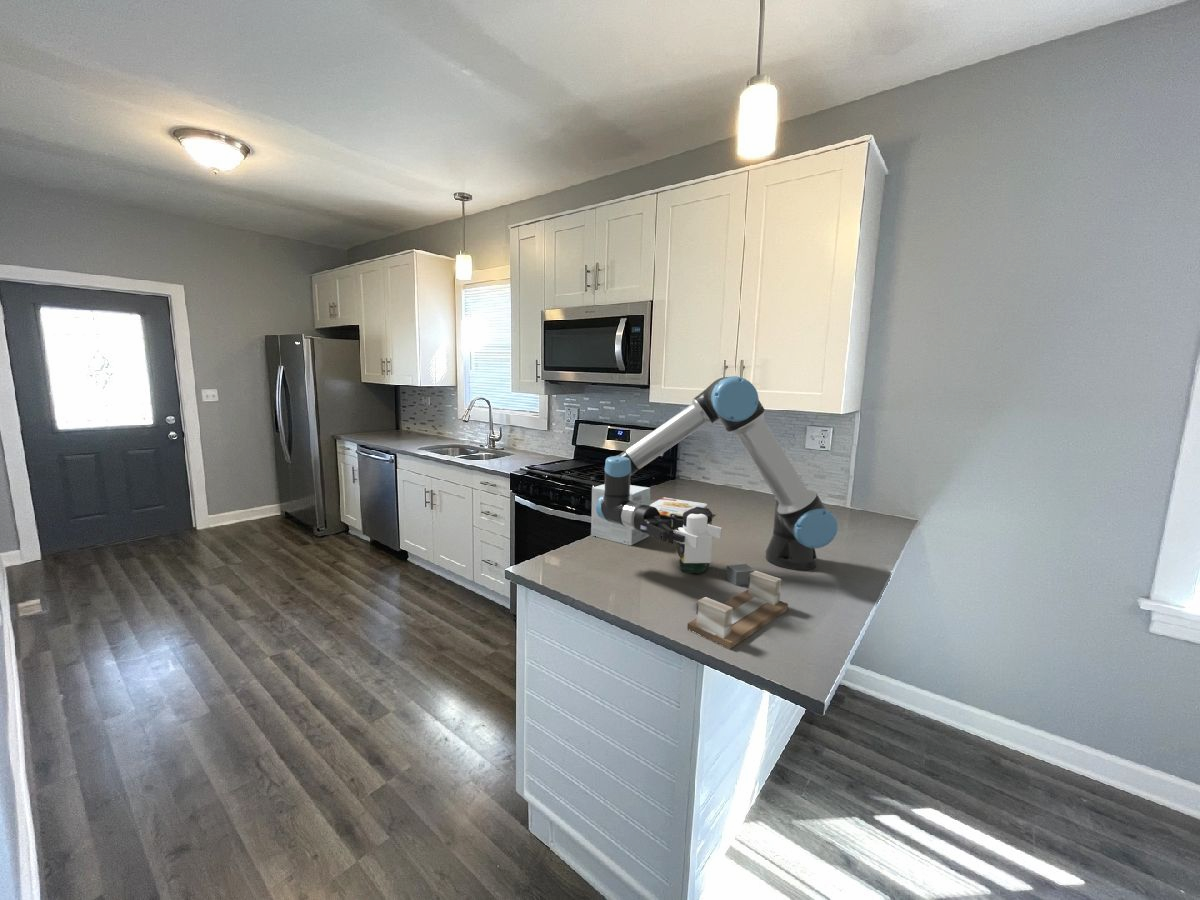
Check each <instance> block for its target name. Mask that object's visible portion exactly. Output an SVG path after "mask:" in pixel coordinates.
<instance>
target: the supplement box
mask: <svg viewBox="0 0 1200 900" xmlns="http://www.w3.org/2000/svg"><path fill="white" fill-rule="evenodd" d="M604 492H605V483H604V484H600V485H597V486H593V487H592V488H591V518H590V519H591V522H590V523H591V524H590V525H591V526H590V536H591V537H595V536H596V538H600V539H603V540H607V541H611V542H616V543H619V544H624V545H628V546H633V545H634V544H635V545H636V544H637V543H638V542H641V541H643V540H645V539H646V538H649V537H650V535H649V534H647V533H644V532H641V531H638V530H632V529H631V528H629V527H626V526H623V525H620V524H616V523H613V522H609V521H607V520H605V519H602V518H600V517H599V516H598V514H597V512H596V504H597V503H598V499H599V498H600V497H601V496H602V495H604ZM629 500H630V501H634V502H638V503H642V504H644V505H648V506H650V504H651V487H647V486H640V485H634V484H633V485H632V484H630V498H629Z"/></svg>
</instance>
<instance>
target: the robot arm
mask: <svg viewBox="0 0 1200 900" xmlns="http://www.w3.org/2000/svg"><path fill="white" fill-rule="evenodd" d="M691 402H692V403H691V404H690V405H688V406H687V407H684V408H683V409H682V410H681V411H679V412H678V413H676V415H675V414H674V416H673V417H671V418H669V419H668V420H667V421H665V422H664V423H662V424H661V425H660V426H658V427H657V428H655V429H654V430H652V431H651V432H649V433H648V434H647V435H645V436H644V437H643V438H641V439H640V440H638V441H637V442H635V443H633V444H632V445H631V446H629V447H628V448H627V449H625V450H624V451H622V452H621V453H619V454H617V455H615V456H614V455H613V456H612V455H611V456H609V457H607V458H606V459H605V464H604V484H605V492H604V495H602V496H601V497H600V498H599V499H598V503H597V504H596V512H597V514H598V516H599V517H600V518H602V519H605V520H607V521H609V522H613V523H616V524H620V525H623V526H626V527H629V528H631V529H632V530H638V531H641V532H644V533H647V534H649V536H650V537H651V536H652V537H653V538H655V539H657V540H659V541H661V542H665V543H666V542H667V541H668V543H667V544H669V545H672V544H674V542H676V543H677V542H679V543H682V544H685V545H688V546H691V547H695V548H697V547H698V536H695V535H692V534H688V533H685V532H682V531H678V530H676V529H678V528H679V527H683V518H684V516H680V515H676V514H673V513H672V514H670V516H667V515H663V514H661V515H660V513H659V511H658V510H657V509H656V508H655V507H652V506H648V505H644V504H642V503H638V502H634V501H630V500H629V498H630V485H631V476H633V475H634V474H636V473H637V472H639V470H641V469H642V468H644V466H647V465H648V464H649V463H651V462H653V461H654V460H655V459H656V458H658V457H659V456H661V455H662V454H664V453H665V452H667V451H668V450H670V449H671V448H673V447H674V446H675V445H677V444H678V443H681V442H682V440H684V439H686V438H688V437H689V436H690V435H692V434H693V433H694V432H697V430H699V429H700V428H702V427H704V426H705V425H708V424H709V425H712V424H713V423H715V422H717V421H718V420H720V422H721V424H722V425H723V427H724V428H725V430H726V431H727V433H729V434H734V435H736V437H737V438H738V440H739V442H740V443H741V445H742V446H743V448H744V450H745V452H746V453H747V454H748V456H749V457H750V459H751V461H752V462H753V464H754V465H755V468H756V469H757V470H758V472H759V473H760V475H761V477H762V479H763V480H764V482H765V483H766V485H767V486H768V488H769V489H770V491H771V493H772V495H773V496H774V497H775V498H774V501H775V505H774V515H773V530H772V536H771V539H770V540H769V543H768V545H767V547H766V550H765V559H766V560H767V561H768V563H770V564H773V565H775V566H778V567H781V568H786V569H792V570H809V569H813V568H815V567H816V566H817V561H818V559H817V558H818V557H817V554H816V550H815V549H820V548H823V547H826V546H827V545H829V544H830V543H832V542H833V540H835V538H836V535H837V533H838V530H839V529H838V528H839V526H838V521H837V518H836V517H835V515H834V514H833V513H832V511H829V510H828V509H827V508H826V507H825V505H824V503H823V502H822V500H821V498H820V496H819V495H818V493H817V492H816V491H815V490H813V489H808V488H807V487H806V485H805V483H804V482H803V480H802V478H801V477H800V475H799V474H798V472H797V471H796V469H795V467H794V466H793V463H791V460H790V459H789V457H788V456H787V454H786V452H785V451H784V449H783V448H782V446H781V444H780V443H779V441H778V439H777V438H776V436H775V434H774V433H773V431H772V430H771V428H770V427H769V425H768V424H767V422H766V420H765V413H766V409H765V407H764V406H763V404H762V403H761V402H760V400H759V394H758V391H757V389H756V387H755V386H754V384H753V383H751V381H749V380H747V379H746V378H743V377H741V376H733V375H732V376H725V377H720V378H718V379H716V380H715V381H713V382H712V383H710V385H709V386H707V387H706V388H705V389H704V390H703V391H702V392H700V393H699V394H698V395H696V396H694V397H693V399H692V401H691ZM672 524H673V527H671V526H672ZM707 531H708V532H709V533H710V534H711V535H712V538H716V539H719V540H721V539H722V535H723V534H722V532H723V527H720V526H716V525H713V524H712V525H709V524H707Z"/></svg>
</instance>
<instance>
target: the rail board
mask: <svg viewBox="0 0 1200 900" xmlns="http://www.w3.org/2000/svg"><path fill="white" fill-rule="evenodd" d="M747 585H748V589H746V590H744V591H743V592H741V593H739V594H737V595H735V596H734V597H732V598H730V599H729V600H726V601H725V602H719V601H717V600H715V599H711V598H710V597H707V596H705V597H703V598H700V599H698V600H697V603H696V606H695V607H696V610H695V614H696V618H695V619H692V620H691V621H689V622H687V626H686V627H687V629H690V630H691V631H690V632H692V631H694V632H696V633H698V634H700V635H702V636H704V637H706V638H705V639H707V638H708V639H707V640H709V639H710V640H709V641H711V640H712V642H713V641H715V642H717V643H719V644H721V645H723V646H722V647H724V646H725V647H724V648H727V649H728V648H729V650H731V648H732V647H733V648H734V646H735V645H736V644H737V645H739V644H740V643H742V642H743V641H744V639H745V638H746V639H748V638H749V637H750V636H752V635H753V634H754V633H753V632H755V631H756V632H757V631H759V630H760V629H761V627H762V628H763V627H764V625H765V626H766V625H768V624H769V623H771V622H772V621H773V620H774V619H776V618H778V617H779V616H780V615H782V614H783V613H785V612H786V611H788V610H789V603H787V602H784V601H781V589H782V578H779V577H776V576H774V575H770V574H767V573H764V572H761V571H758V570H755V571H754V572H752V573H750V576H749V579H748V584H747ZM771 620H772V621H771ZM758 629H759V630H758ZM694 632H693V633H694ZM756 632H755V633H756ZM696 633H695V634H696ZM752 633H753V634H752ZM698 634H697V635H698ZM751 634H752V635H751ZM700 635H699V636H700ZM749 635H750V636H749ZM702 636H701V637H702ZM748 636H749V637H748ZM704 637H703V638H704ZM746 639H745V640H746ZM742 640H743V641H742ZM741 641H742V642H741ZM715 642H714V643H715ZM739 642H740V643H739ZM717 643H716V644H717ZM738 643H739V644H738ZM719 644H718V645H719ZM721 645H720V646H721ZM737 645H736V646H737ZM736 646H735V647H736ZM733 648H732V649H733Z"/></svg>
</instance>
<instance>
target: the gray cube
mask: <svg viewBox="0 0 1200 900" xmlns="http://www.w3.org/2000/svg"><path fill="white" fill-rule="evenodd" d="M754 571H756V570H755V569H754V568H752V567H751V566H750V565H748V564H747V563H744V564H743V563H742V564H729V565H727V567H726V579H727V580H728V581H729V580H730V581H729V582H731V583H732V584H733V585H734V586H744V585H748V579H749V576H750V573H752V572H754Z"/></svg>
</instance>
